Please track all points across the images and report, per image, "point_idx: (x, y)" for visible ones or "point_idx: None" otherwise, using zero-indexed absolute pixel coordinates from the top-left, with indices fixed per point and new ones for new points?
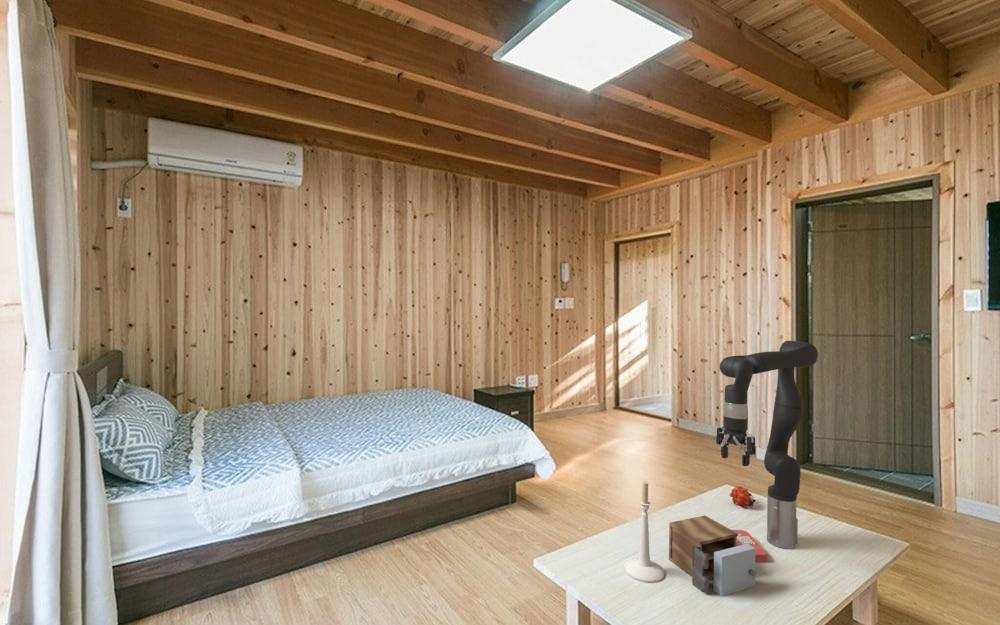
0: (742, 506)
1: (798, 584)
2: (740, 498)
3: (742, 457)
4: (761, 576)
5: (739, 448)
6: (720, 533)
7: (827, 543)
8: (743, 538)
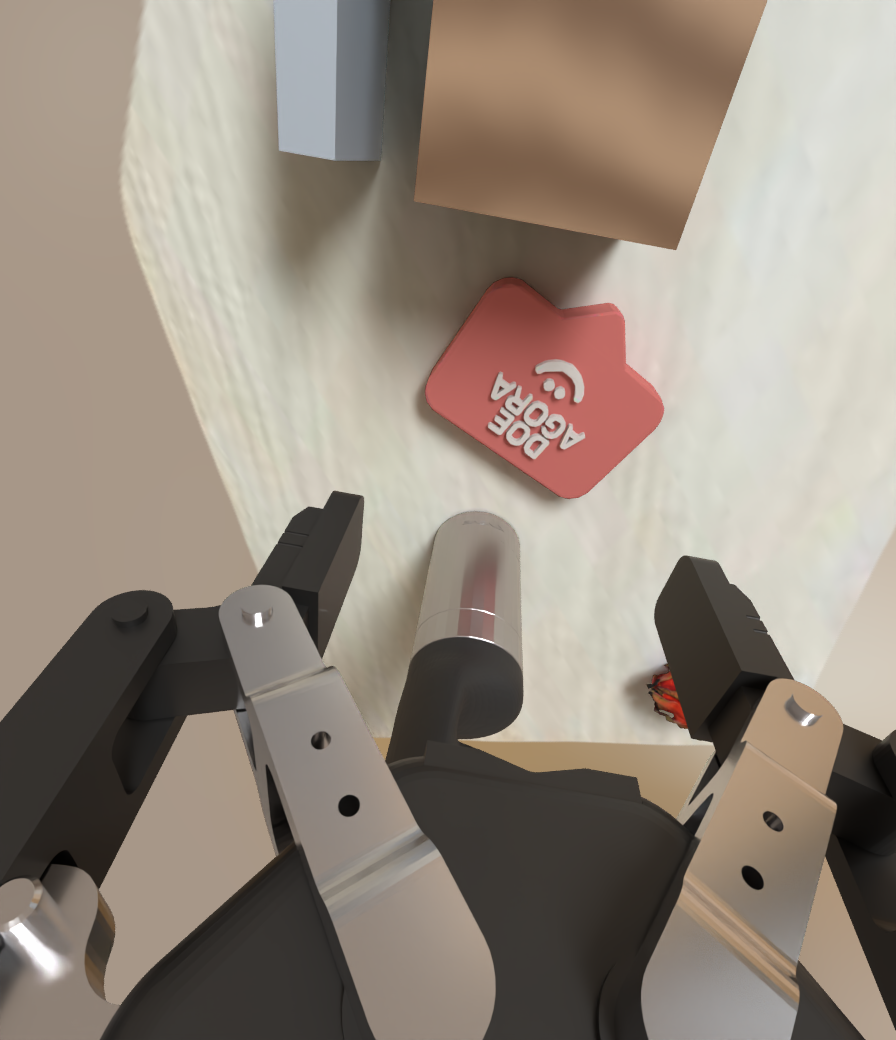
0: None
1: (285, 335)
2: None
3: (326, 563)
4: (374, 260)
5: (323, 672)
6: (468, 71)
7: (403, 634)
8: (544, 436)
